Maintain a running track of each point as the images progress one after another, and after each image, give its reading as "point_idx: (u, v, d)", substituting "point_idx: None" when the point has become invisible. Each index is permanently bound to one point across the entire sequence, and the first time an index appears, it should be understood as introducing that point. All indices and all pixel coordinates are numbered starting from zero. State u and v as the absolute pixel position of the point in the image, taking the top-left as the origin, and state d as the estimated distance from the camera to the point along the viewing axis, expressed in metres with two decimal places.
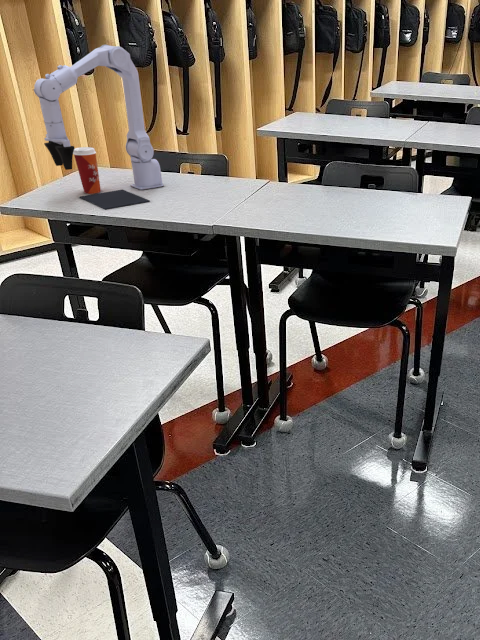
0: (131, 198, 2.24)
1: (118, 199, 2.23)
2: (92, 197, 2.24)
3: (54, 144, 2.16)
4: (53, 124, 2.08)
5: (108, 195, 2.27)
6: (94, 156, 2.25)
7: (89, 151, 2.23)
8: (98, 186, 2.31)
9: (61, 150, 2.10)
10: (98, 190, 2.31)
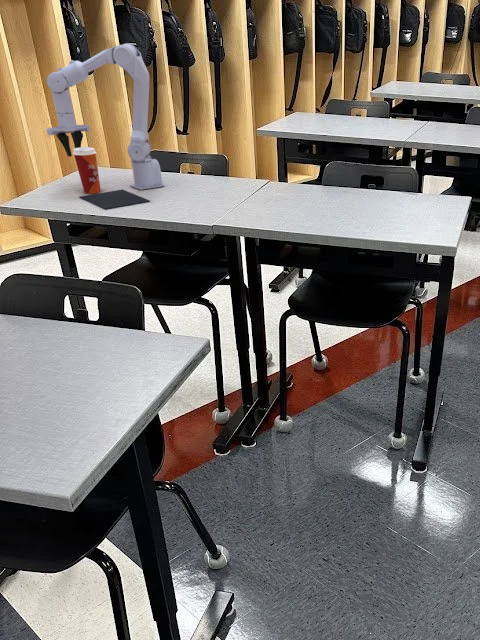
0: (131, 198, 2.24)
1: (118, 199, 2.23)
2: (92, 197, 2.24)
3: (73, 134, 2.29)
4: (56, 113, 2.24)
5: (108, 195, 2.27)
6: (94, 156, 2.25)
7: (89, 151, 2.23)
8: (98, 186, 2.31)
9: (57, 136, 2.28)
10: (98, 190, 2.31)
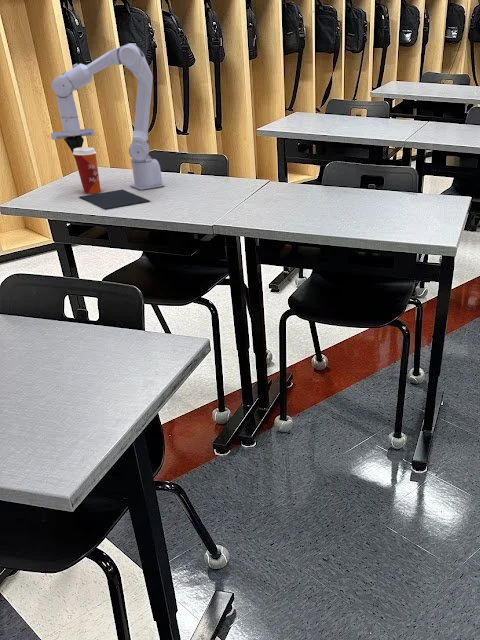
0: (131, 198, 2.24)
1: (118, 199, 2.23)
2: (92, 197, 2.24)
3: None
4: (60, 118, 2.23)
5: (108, 195, 2.27)
6: (94, 156, 2.25)
7: (89, 151, 2.23)
8: (98, 186, 2.31)
9: (65, 140, 2.27)
10: (98, 190, 2.31)
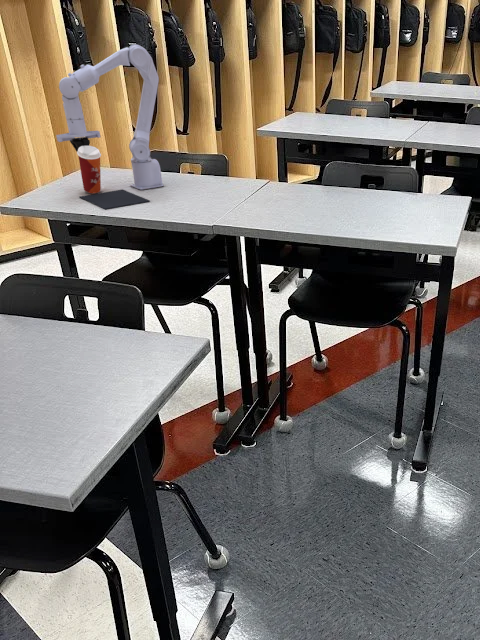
0: (131, 198, 2.24)
1: (118, 199, 2.23)
2: (92, 197, 2.24)
3: None
4: None
5: (108, 195, 2.27)
6: (99, 159, 2.23)
7: (94, 155, 2.21)
8: (99, 186, 2.30)
9: (71, 142, 2.24)
10: (98, 190, 2.31)
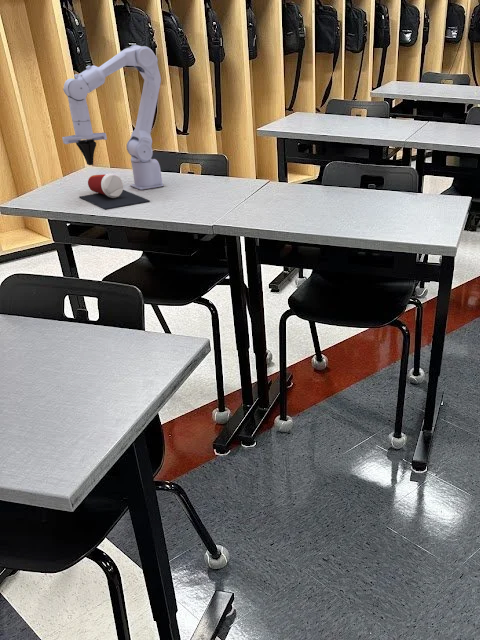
0: (131, 198, 2.24)
1: (118, 199, 2.23)
2: (92, 197, 2.24)
3: (86, 143, 2.22)
4: None
5: None
6: None
7: (114, 196, 2.22)
8: None
9: (77, 144, 2.21)
10: None
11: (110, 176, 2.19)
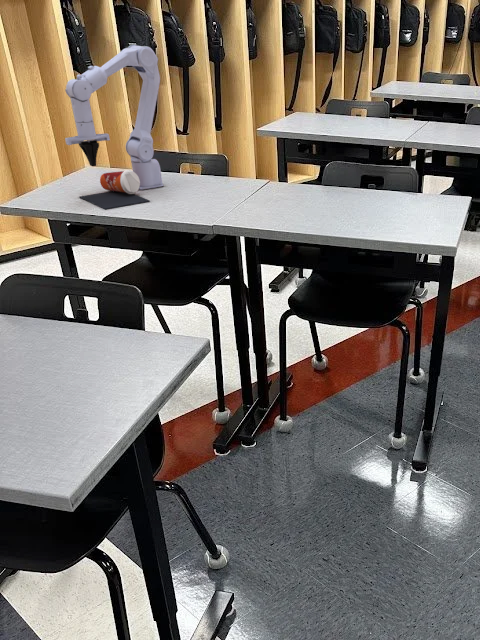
0: (131, 198, 2.24)
1: (118, 199, 2.23)
2: (92, 197, 2.24)
3: None
4: (75, 122, 2.15)
5: (108, 195, 2.27)
6: (120, 186, 2.24)
7: (123, 180, 2.22)
8: (104, 184, 2.29)
9: (80, 145, 2.20)
10: (101, 183, 2.30)
11: (138, 180, 2.27)
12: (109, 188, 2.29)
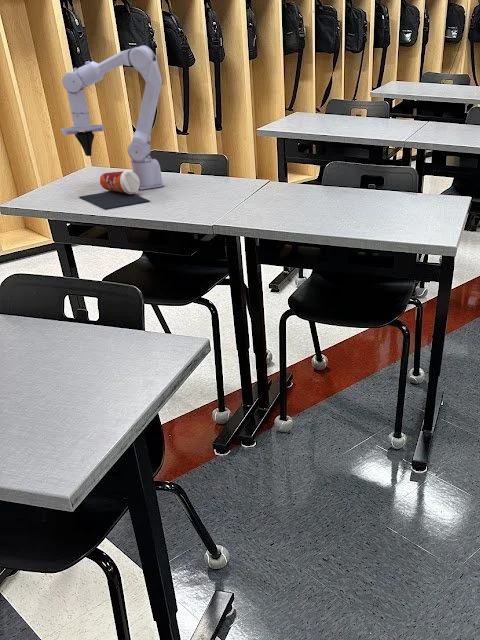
0: (131, 198, 2.24)
1: (118, 199, 2.23)
2: (92, 197, 2.24)
3: None
4: (71, 114, 2.24)
5: (108, 195, 2.27)
6: (120, 186, 2.24)
7: (122, 181, 2.22)
8: (103, 184, 2.29)
9: (75, 136, 2.29)
10: (101, 183, 2.30)
11: (138, 180, 2.27)
12: (109, 188, 2.29)
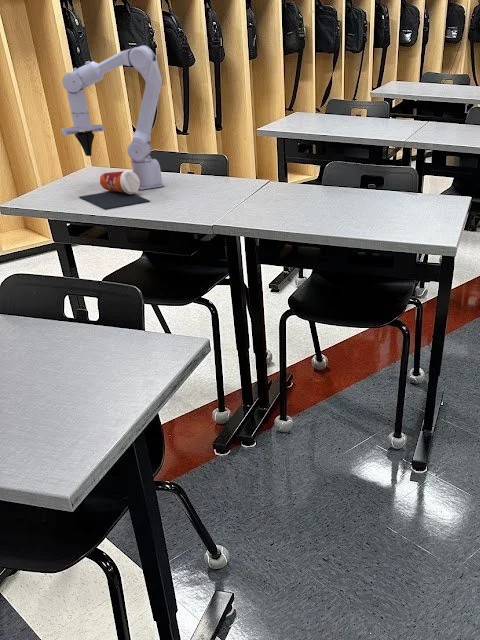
0: (131, 198, 2.24)
1: (118, 199, 2.23)
2: (92, 197, 2.24)
3: None
4: (71, 114, 2.24)
5: (108, 195, 2.27)
6: (120, 186, 2.24)
7: (122, 181, 2.22)
8: (103, 184, 2.29)
9: (75, 136, 2.29)
10: (101, 183, 2.30)
11: (138, 180, 2.27)
12: (109, 188, 2.29)
